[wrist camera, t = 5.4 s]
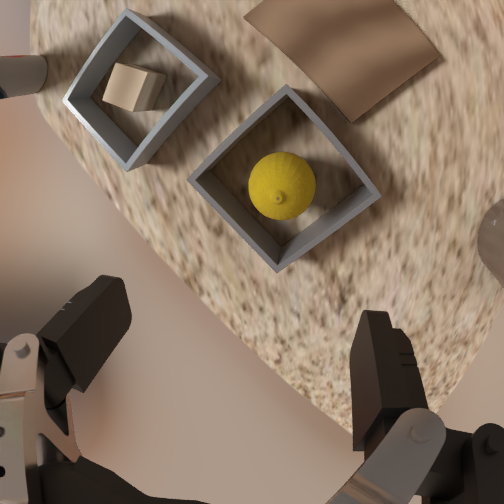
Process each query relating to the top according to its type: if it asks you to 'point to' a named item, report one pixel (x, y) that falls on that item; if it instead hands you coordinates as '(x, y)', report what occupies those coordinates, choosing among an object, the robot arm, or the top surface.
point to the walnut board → (346, 46)
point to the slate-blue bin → (99, 66)
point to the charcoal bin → (248, 224)
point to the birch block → (133, 87)
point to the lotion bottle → (21, 75)
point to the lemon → (282, 185)
